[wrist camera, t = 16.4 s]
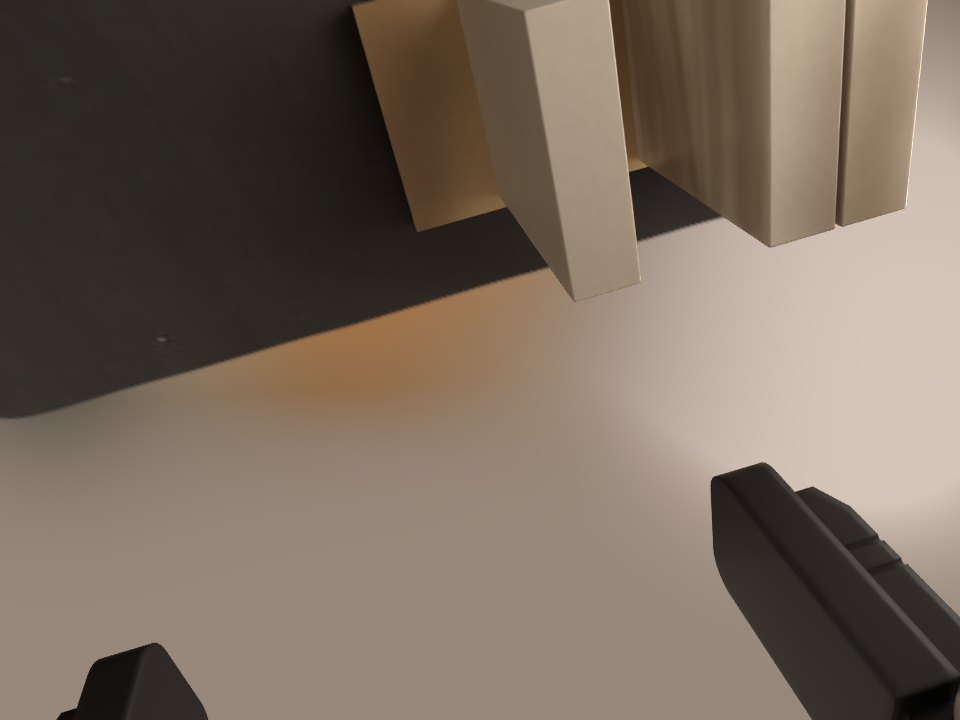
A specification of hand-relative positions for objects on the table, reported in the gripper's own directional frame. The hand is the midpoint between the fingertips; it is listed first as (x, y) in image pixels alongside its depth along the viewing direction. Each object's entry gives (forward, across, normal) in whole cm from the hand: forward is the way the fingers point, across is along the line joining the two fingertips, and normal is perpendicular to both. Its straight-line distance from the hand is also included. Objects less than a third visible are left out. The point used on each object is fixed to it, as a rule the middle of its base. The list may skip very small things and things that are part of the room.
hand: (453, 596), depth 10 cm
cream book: (+25, -7, -2) cm, 26 cm away
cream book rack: (+26, -11, -2) cm, 28 cm away
